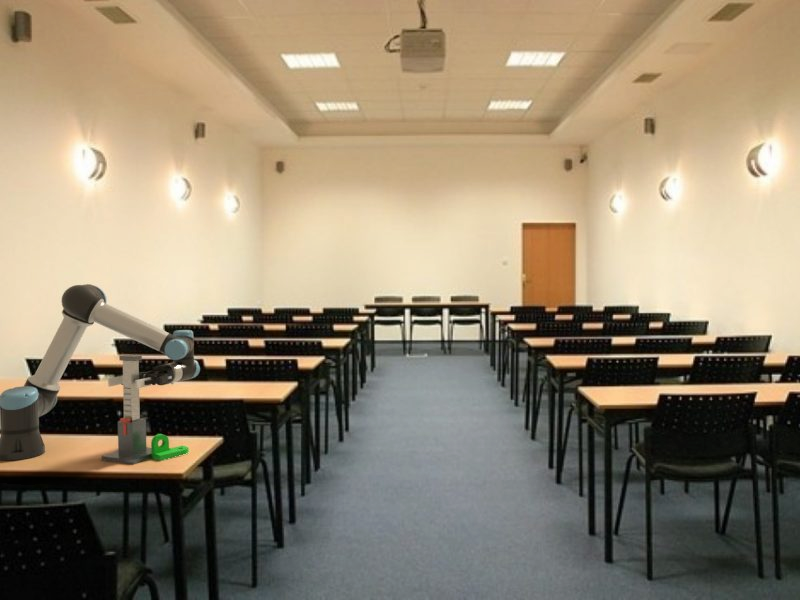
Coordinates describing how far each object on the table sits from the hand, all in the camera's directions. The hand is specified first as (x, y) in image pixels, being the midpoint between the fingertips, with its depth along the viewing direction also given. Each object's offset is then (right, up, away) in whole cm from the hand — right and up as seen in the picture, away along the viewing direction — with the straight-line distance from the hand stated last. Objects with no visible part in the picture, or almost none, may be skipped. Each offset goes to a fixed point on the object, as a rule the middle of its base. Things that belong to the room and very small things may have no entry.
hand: (122, 383), depth 215 cm
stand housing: (+2, -26, +5) cm, 27 cm away
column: (+1, -18, +4) cm, 19 cm away
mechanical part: (+15, -27, +6) cm, 31 cm away
